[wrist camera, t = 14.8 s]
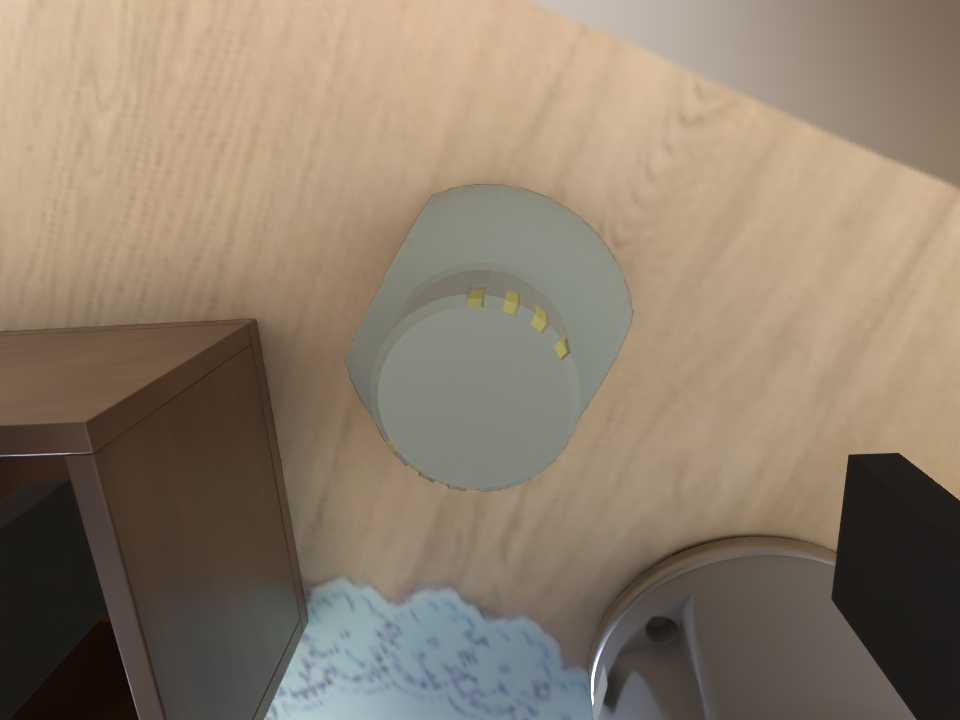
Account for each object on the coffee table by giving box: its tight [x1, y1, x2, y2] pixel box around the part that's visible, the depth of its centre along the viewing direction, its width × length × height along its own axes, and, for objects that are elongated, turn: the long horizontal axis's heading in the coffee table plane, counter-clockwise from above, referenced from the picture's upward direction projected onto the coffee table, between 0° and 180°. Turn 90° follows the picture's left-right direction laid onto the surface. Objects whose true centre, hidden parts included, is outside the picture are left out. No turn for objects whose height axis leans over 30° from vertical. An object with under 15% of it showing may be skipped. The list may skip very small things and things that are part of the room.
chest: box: [0, 319, 308, 720], centre depth 25 cm, size 16×16×11 cm
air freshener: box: [345, 184, 633, 492], centre depth 22 cm, size 11×8×10 cm
